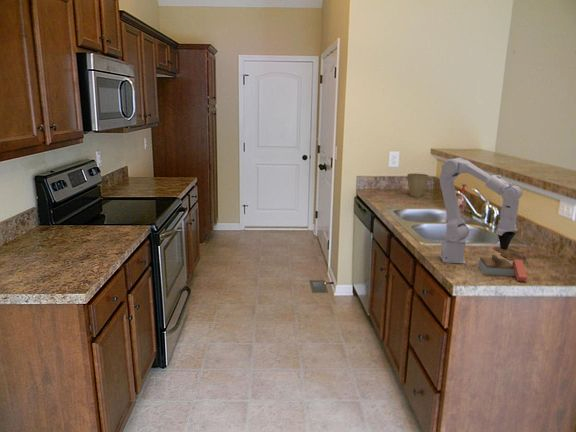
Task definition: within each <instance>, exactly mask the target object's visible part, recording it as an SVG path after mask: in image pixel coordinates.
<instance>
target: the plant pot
mask: <svg viewBox="0 0 576 432" xmlns="http://www.w3.org/2000/svg"><path fill="white" fill-rule="evenodd" d="M429 176H430V175H429V174H425V173H417V172H416V173H407V185H408V190H409V193H410V196H411V197H413V196H415V197H414V198H422V196H423V194H424V192H425V189H426V186H427V183H428V180H429Z"/></svg>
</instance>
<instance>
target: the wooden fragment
mask: <svg viewBox="0 0 576 432" xmlns="http://www.w3.org/2000/svg"><path fill="white" fill-rule="evenodd" d="M492 249H493V250H495V251H497V252H498V253H500V256H501V257H503V258H505V259H506V260H507V261H510V262H513V261H514V259H516V260H522V261H523V264H524V266H530V264H529V261H528V260H527V258H526V256H525V255H524V253H523V252H521V251H517V250H515V249H512V248H509V247H508V248H507V250H503V249H500V245H499V246H495V247H493V248H492Z"/></svg>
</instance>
